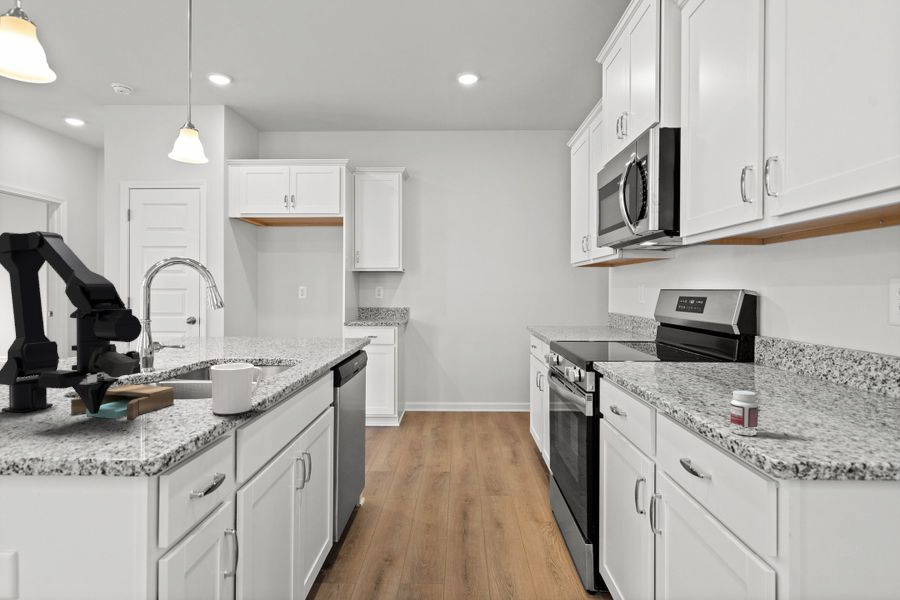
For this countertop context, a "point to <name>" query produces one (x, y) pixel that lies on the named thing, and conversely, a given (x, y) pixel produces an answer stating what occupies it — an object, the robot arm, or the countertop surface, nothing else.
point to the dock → (146, 402)
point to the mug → (233, 388)
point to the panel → (113, 409)
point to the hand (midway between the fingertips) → (94, 413)
